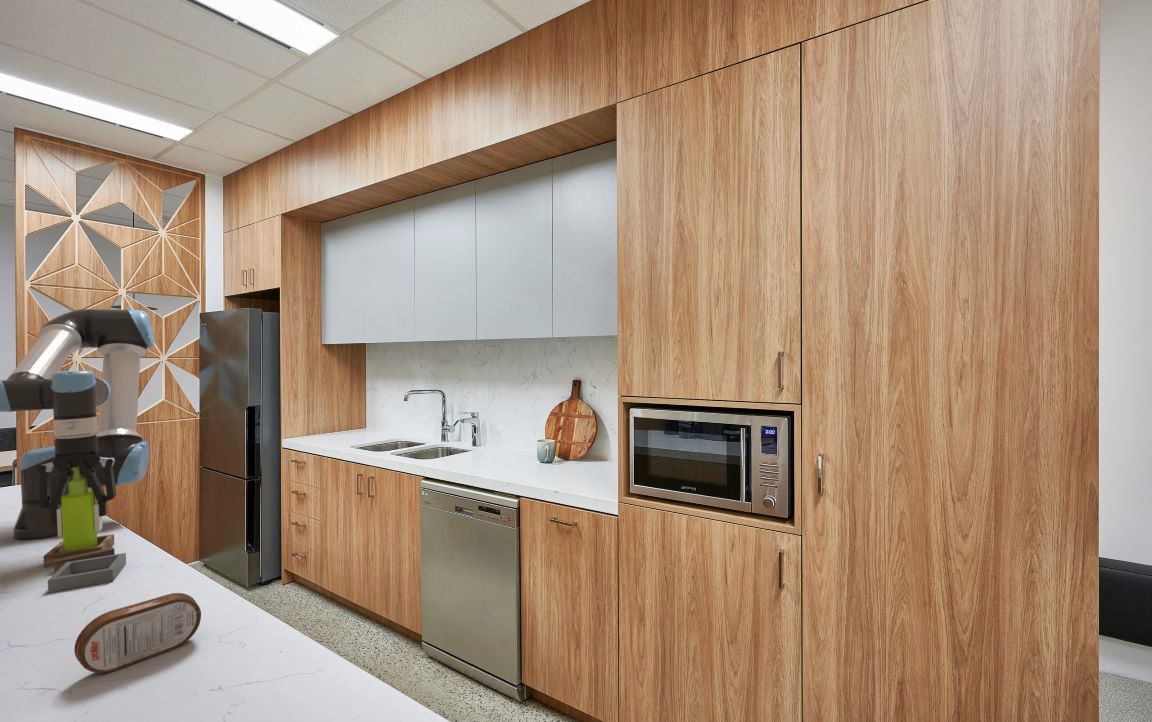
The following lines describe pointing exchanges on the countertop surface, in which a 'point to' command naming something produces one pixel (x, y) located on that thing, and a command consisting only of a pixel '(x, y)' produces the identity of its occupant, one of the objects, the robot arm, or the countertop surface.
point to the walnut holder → (59, 553)
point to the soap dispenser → (78, 514)
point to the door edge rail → (82, 557)
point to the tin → (137, 632)
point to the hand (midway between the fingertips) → (80, 532)
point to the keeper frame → (68, 581)
